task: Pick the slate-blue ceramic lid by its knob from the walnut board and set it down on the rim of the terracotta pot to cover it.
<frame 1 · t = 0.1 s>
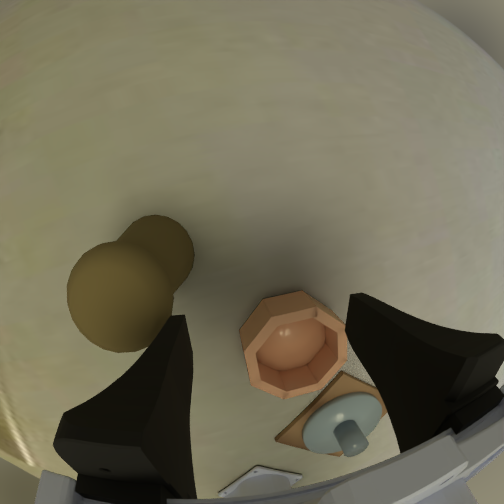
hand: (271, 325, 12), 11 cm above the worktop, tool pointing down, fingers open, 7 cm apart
pot: (288, 336, 24), on the worktop
cork: (156, 253, 21), on the worktop
board: (340, 419, 27), on the worktop
lid: (341, 422, 27), point 1 cm above the worktop, touching board
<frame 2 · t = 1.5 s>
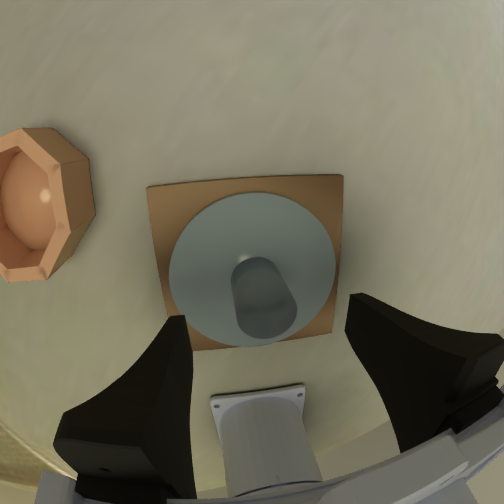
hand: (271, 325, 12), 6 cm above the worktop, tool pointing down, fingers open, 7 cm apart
pot: (39, 197, 14), on the worktop
board: (251, 268, 17), on the worktop
lid: (253, 272, 17), point 1 cm above the worktop, touching board
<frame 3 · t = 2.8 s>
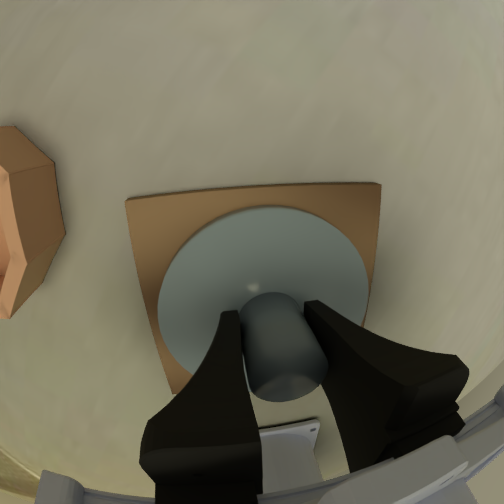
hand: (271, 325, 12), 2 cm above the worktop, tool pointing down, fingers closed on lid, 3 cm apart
pot: (2, 212, 10), on the worktop
board: (263, 301, 14), on the worktop
lid: (265, 307, 13), point 1 cm above the worktop, touching board, gripper
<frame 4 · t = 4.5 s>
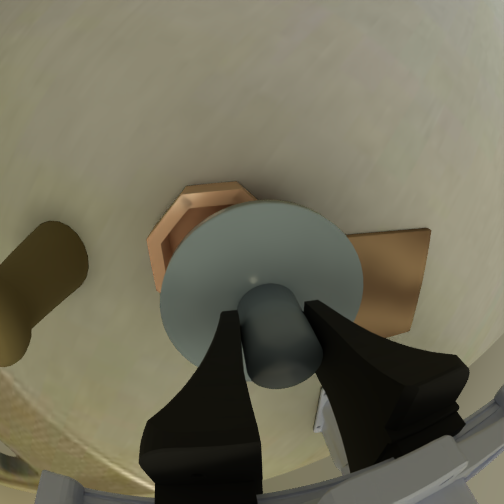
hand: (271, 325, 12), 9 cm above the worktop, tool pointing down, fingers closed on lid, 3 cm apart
pot: (216, 240, 20), on the worktop
cork: (57, 256, 19), on the worktop
board: (372, 291, 24), on the worktop
lid: (263, 298, 14), point 7 cm above the worktop, touching gripper
when the fingers open (6 cm above the worktop, at t = 6.0 s): lid stays where it is, resting on pot.
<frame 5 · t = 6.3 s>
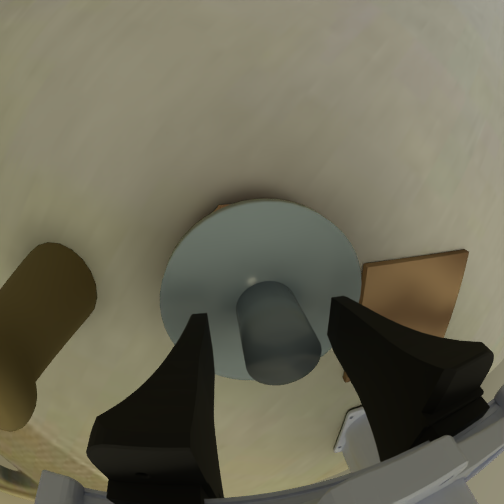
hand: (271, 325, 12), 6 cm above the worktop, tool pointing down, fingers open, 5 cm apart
cork: (59, 283, 16), on the worktop
board: (408, 316, 21), on the worktop
lid: (262, 297, 14), point 3 cm above the worktop, touching pot
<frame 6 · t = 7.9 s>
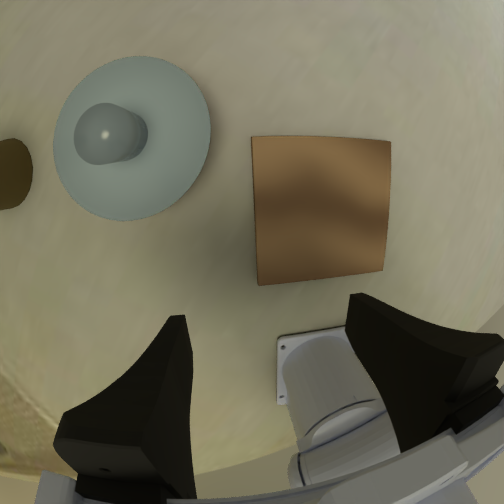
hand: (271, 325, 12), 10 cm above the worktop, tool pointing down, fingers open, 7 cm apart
cork: (10, 173, 16), on the worktop
board: (326, 209, 21), on the worktop
lid: (129, 137, 14), point 3 cm above the worktop, touching pot
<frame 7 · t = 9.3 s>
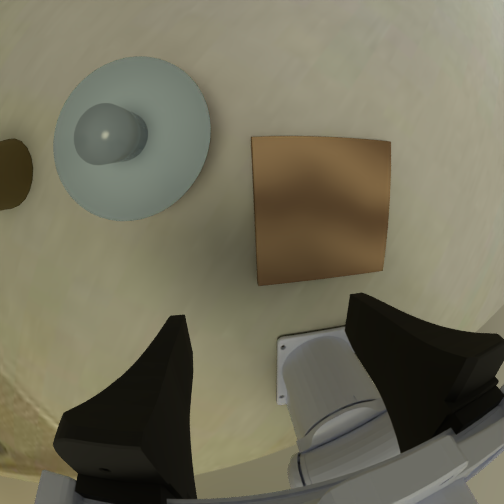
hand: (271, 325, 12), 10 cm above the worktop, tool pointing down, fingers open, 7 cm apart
cork: (10, 173, 16), on the worktop
board: (326, 209, 21), on the worktop
lid: (129, 137, 14), point 3 cm above the worktop, touching pot
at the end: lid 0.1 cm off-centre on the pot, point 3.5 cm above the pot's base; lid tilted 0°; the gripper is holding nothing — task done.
